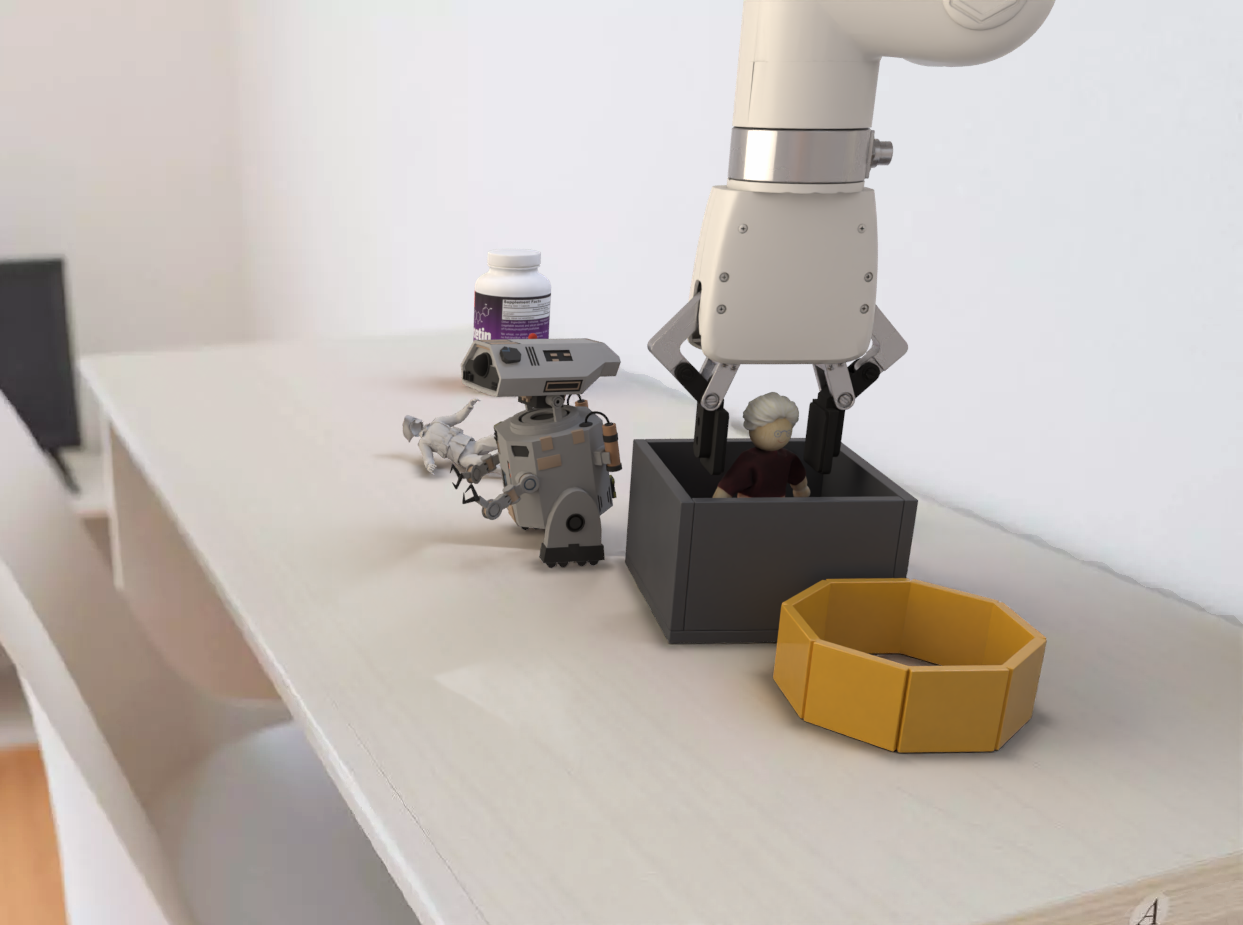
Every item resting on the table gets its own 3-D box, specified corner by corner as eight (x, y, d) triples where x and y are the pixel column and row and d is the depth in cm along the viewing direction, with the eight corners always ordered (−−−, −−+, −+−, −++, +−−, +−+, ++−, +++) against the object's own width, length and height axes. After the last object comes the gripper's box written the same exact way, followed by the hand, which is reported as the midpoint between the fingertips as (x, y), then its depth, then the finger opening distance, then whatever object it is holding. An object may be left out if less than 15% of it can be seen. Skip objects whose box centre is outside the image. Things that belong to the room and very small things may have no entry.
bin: (820, 560, 88) (835, 437, 85) (897, 641, 76) (918, 500, 73) (624, 562, 88) (633, 438, 85) (668, 643, 75) (680, 502, 72)
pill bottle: (466, 380, 141) (469, 247, 136) (538, 379, 142) (543, 246, 137) (478, 397, 134) (481, 257, 128) (554, 395, 134) (560, 256, 129)
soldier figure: (495, 502, 104) (373, 439, 108) (500, 525, 108) (383, 463, 112) (544, 426, 106) (422, 367, 109) (547, 452, 110) (430, 394, 114)
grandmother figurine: (739, 610, 78) (760, 407, 73) (690, 591, 81) (708, 395, 76) (816, 582, 82) (840, 389, 78) (767, 565, 85) (788, 378, 81)
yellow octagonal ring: (960, 648, 75) (972, 577, 73) (1068, 751, 63) (1085, 669, 62) (753, 650, 74) (761, 579, 73) (824, 754, 63) (835, 671, 61)
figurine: (438, 530, 94) (441, 327, 89) (589, 523, 96) (601, 323, 91) (461, 574, 86) (465, 353, 81) (626, 566, 87) (641, 348, 82)
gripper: (920, 158, 76) (879, 451, 83) (632, 158, 76) (613, 452, 82) (977, 166, 69) (927, 485, 76) (660, 166, 69) (637, 487, 75)
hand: (764, 465), depth 79 cm, fingers open, 5 cm apart
